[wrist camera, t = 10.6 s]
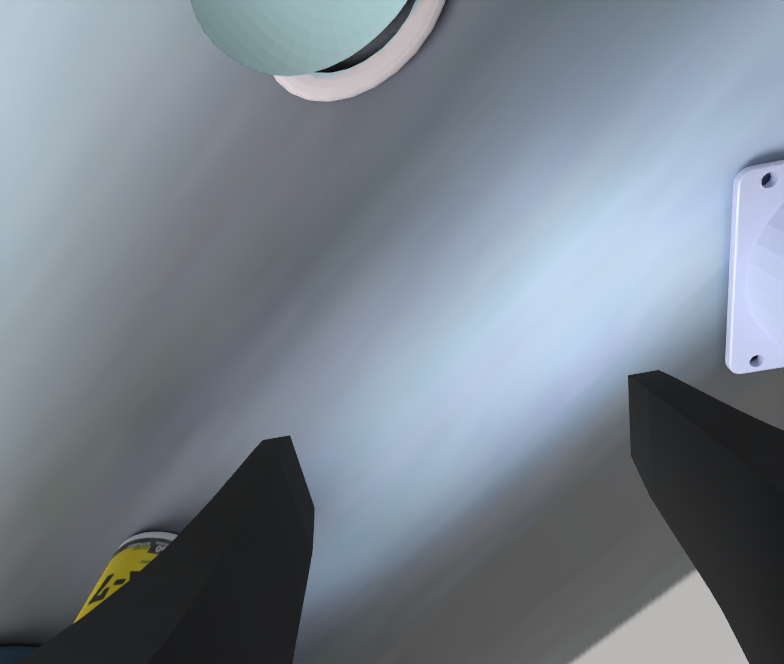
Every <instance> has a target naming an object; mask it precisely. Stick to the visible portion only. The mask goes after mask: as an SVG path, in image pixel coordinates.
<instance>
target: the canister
mask: <svg viewBox="0 0 784 664" xmlns="http://www.w3.org/2000/svg"><path fill="white" fill-rule="evenodd" d="M37 648H39V647H31V646H3V647H0V664H14V663H16V662H17V661H19V660H20V659H22V658H23V657H25V656H27V655H28V654H30V653H31V652H33V651H34V650H36V649H37Z"/></svg>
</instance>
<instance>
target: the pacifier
mask: <svg viewBox="0 0 784 664" xmlns="http://www.w3.org/2000/svg"><path fill="white" fill-rule="evenodd" d="M406 2H407V0H191V4H192V7H193V10H194V12H195V15H196V18H197V20H198V22H199V24H200V25H201V27H202V29H203V30H204V32H205V33H206V35H207V36H208V37H209V38H210V39H211V40H212V42H213V43H214V44H215V45H216V46H217V47H218V48H219V49H220V50H222V51H223V52H224V53H225V54H226V55H228V56H229V57H231V58H232V59H234V60H236V61H237V62H239V63H240V64H242V65H245V66H247V67H250V68H252V69H254V70H256V71H259V72H263V73H266V74H270V75H274V77H275V79H276V81H278V82H279V83H280V84H281V85H282V86H283V87H284V88H285V89H287V90H288V91H289V92H290V93H292V94H294V95H297V96H299V97H302V98H304V99H307V100H313V101H328V102H330V101H335V100H340V99H345V98H350V97H354V96H356V95H358V94H360V93H363V92H365V91H367V90H370V89H372V88H374V87H376V86H377V85H379V84H380V83H382V82H383V81H385V80H386V79H387V78H389V77H390V76H392V75H393V74H395V73H396V72H397V71H398V70H399V69H400V68H401V67H402V66H403V65H404V64H405V63H406V62H407V61H408V60H409V59H410V58H411V57H412V56H413V55H414V54H416V53H417V51H418V50H419V48H420V47H421V46H422V44H423V43H424V41H425V40H426V38H427V37H428V36H429V34H430V33H431V31H432V30H433V28H434V26H435V24H436V22H437V19H438V17H439V15H440V13H441V11H442V8H443V6H444V4H445V0H416V1H415V3H414V5H413V8H412V10H411V12H410V14H409V16H408V18H407V19H406V21H405V22H404V24H403V25H402V26H401V28H400V29H399V31H398V32H397V34H396V35H395V36H394V37H393V38H392V39H391V40H390V41H389V42H388V43H387V44H386V45H385V46H384V47H383V48H382V49H381V50H379V51H378V52H377V53H375V54H374V55H372V56H371V57H370V58H368V59H367V60H365V61H364V62H361V63H359V64H357V65H355V66H353V67H351V68H349V69H344V70H340V71H336V72H317V71H319V70H323V69H326V68H328V67H330V66H332V65H335V64H337V63H339V62H341V61H343V60H345V59H347V58H349V57H350V56H352V55H353V54H355V53H356V52H357V51H359V50H360V49H362V48H363V47H364V46H366V45H367V44H368V43H369V42H371V41H372V40H373V39H374V38H375V37H376V36H378V35H379V34H380V33H381V32H382V31H383V30H384V29H385V28H386V27H387V26H388V25H389V23H390V22H391V21H392V20H393V19H394V18H395V17H396V16H397V14H398V13H399V12H400V10H401V9H402V7H403V6H404V5H405V3H406Z"/></svg>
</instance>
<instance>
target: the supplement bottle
mask: <svg viewBox="0 0 784 664" xmlns="http://www.w3.org/2000/svg"><path fill="white" fill-rule="evenodd" d="M177 536H178V535H176V534H173V533H167V532H146V533H141V534H138V535H135V536H132V537H130V538H129V539H127V540H126V541H125V542H124V543H122V545H121V546H120V547H119V548H118V550H117V551H116V553H115V554H114V556H113V557H112V559H111V561H110V563H109V564H108V566H107V567H106V569H105V571H104V573H103V574H102V576H101V577H100V579H99V581H98V582H97V584H96V586H95V588H94V589H93V591H92V593H91V594H90V596H89V598H88V599H87V601H86V603H85V605H84V606H83V608H82V610H81V611H80V613H79V615H78V616H77V618H76V620H75V621H74V623H75V622H76V621H78V620H79V619H80V618H82V617H83V616H85V615H86V614H87V613H88V612H90V611H91V610H92V609H94V608H95V607H96V606H97V605H99V604H100V603H101V602H102V601H104V600H105V599H106V598H107V597H109V596H110V595H111V594H113V593H114V592H115V591H116V590H118V589H119V588H120V587H121V586H123V585H124V584H125V583H127V582H128V581H129V580H130V579H131V578H132V577H134V576H135V575H136V574H137V573H138V572H139V571H141V570H142V569H143V568H144V567H145V566H146V565H147V564H148V563H149V562H151V561H152V560H153V559H154V558H155V557H156V556H157V555H158V554H159V553H160V552H161V551H163V550H164V549H165V548H166V547H167V546H168V545H169V544H170V543H171V542H172V541H173V540H174V539H175V538H176V537H177Z"/></svg>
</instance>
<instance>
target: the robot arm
mask: <svg viewBox="0 0 784 664" xmlns="http://www.w3.org/2000/svg"><path fill="white" fill-rule="evenodd" d="M769 172H770V173H771V178H770V181H769V182H768V183H767V184H765V185H763V186H762V183H761V181H762V178H763V177H764V175H765V174H767V173H769ZM756 355H758V357H757V359H756V360H755V361H752V362H750V359H751V358H752V357H753V356H756ZM725 362H726V366H727V367H728V368H729V369H730V370H731V371H732V372H734V373H737V374H743V373H749V372H755V371H761V370H768V369H774V368H780V367H784V160H779V161H774V162H769V163H764V164H759V165H754V166H749V167H746V168H744V169H742V170H741V171H740V172H739V173H738V174H737V175H736V177H735V179H734V183H733V199H732V222H731V244H730V267H729V289H728V311H727V334H726V356H725ZM628 387H629V415H630V443H631V456H632V459H633V461H634V463H635V465H636V467H637V470H638V472H639V474H640V476H641V478H642V481H643V483H644V485H645V487H646V489H647V491H648V493H649V495H650V497H651V499H652V500H653V502H654V503H655V505H656V507H657V508H658V510H659V511H660V513H661V515H662V516H663V518H664V519H665V521H666V522H667V524H668V526H669V527H670V529H671V530H672V532H673V533H674V535H675V537H676V538H677V540H678V541H679V543H680V544H681V546H682V547H683V549H684V550H685V552H686V554H687V555H688V557H689V558H690V560H691V561H692V563H693V564H694V566H695V568H696V569H697V571H698V572H699V574H700V575H701V577H702V578H703V580H704V581H705V583H706V585H707V586H708V588H709V589H710V591H711V593H712V594H713V596H714V598H715V599H716V601H717V603H718V604H719V606H720V608H721V610H722V611H723V613H724V615H725V617H726V619H727V621H728V623H729V625H730V627H731V628H732V631H733V632H734V634H735V636H736V638H737V640H738V642H739V644H740V646H741V648H742V650H743V652H744V654H745V656H746V658H747V660H748V662H749V664H784V431H783V430H781V429H779V428H776V427H774V426H772V425H769V424H767V423H765V422H763V421H761V420H758V419H756V418H754V417H752V416H750V415H748V414H746V413H743V412H741V411H739V410H737V409H735V408H733V407H731V406H729V405H727V404H725V403H723V402H721V401H719V400H717V399H715V398H713V397H711V396H709V395H707V394H705V393H704V392H702V391H700V390H698V389H696V388H694V387H692V386H690V385H688V384H686V383H684V382H682V381H680V380H678V379H676V378H674V377H672V376H670V375H668V374H666V373H664V372H662V371H659V370H656V371H650V372H645V373H639V374H633V375H628ZM313 533H314V505H313V502H312V499H311V496H310V493H309V490H308V487H307V484H306V481H305V478H304V476H303V473H302V470H301V467H300V464H299V461H298V458H297V455H296V452H295V449H294V446H293V443H292V440H291V437H290V436H284V437H278V438H273V439H267V440H263V441H262V442H261V443H260V444H259V445H258V446H257V447H256V448H255V449H254V450H253V452H252V453H251V454H250V455H249V456H248V457H247V459H246V460H245V461H244V462H243V463H242V465H241V466H240V467H239V468H238V469H237V470H236V472H235V473H234V474H233V475H232V476H231V478H230V479H229V480H228V481H227V482H226V483H225V485H224V486H223V487H222V488H221V489H220V490H219V492H218V493H217V494H216V495H215V496H214V497H213V498H212V500H211V501H210V502H209V503H208V504H207V505H206V506H205V507H204V508H203V509H202V510H201V512H200V513H199V514H198V515H197V516H196V517H195V518H194V519H193V520H192V521H191V522H190V523H189V524H188V525H187V526H186V527H185V528H184V530H183V531H182V532H181V533H180V534H179V535H178V536H177V537H176V538H175V539H174V540H173V541H172V542H171V543H170V544H169V545H168V546H167V547H166V548H165V549H164V550H163V551H161V552H160V553H159V554H158V555H157V556H156V557H155V558H154V559H153V560H152V561H151V562H149V563H148V564H147V565H146V566H145V567H144V568H143V569H142V570H141V571H139V572H138V573H137V574H136V575H135V576H134V577H132V578H131V579H130V580H129V581H128V582H127V583H125V584H124V585H123V586H121V587H120V588H119V589H118V590H116V591H115V592H114V593H113V594H111V595H110V596H109V597H107V598H106V599H105V600H104V601H102V602H101V603H100V604H99V605H97V606H96V607H95V608H94V609H92V610H91V611H90V612H88V613H87V614H86V615H85V616H83V617H82V618H80V619H79V620H78V621H76V622H75V623H73V624H72V625H71V626H69V627H68V628H66V629H65V630H64V631H62V632H61V633H59V634H58V635H57V636H55V637H54V638H52V639H51V640H49V641H48V642H46V643H45V644H43V645H42V646H40V647H39V648H37V649H36V650H34V651H33V652H31V653H30V654H28V655H27V656H25V657H23V658H22V659H20V660H19V661H17V662H16V663H14V664H292V663H293V656H294V650H295V644H296V639H297V634H298V628H299V623H300V617H301V612H302V607H303V601H304V596H305V590H306V585H307V579H308V574H309V568H310V563H311V557H312V550H313Z"/></svg>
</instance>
